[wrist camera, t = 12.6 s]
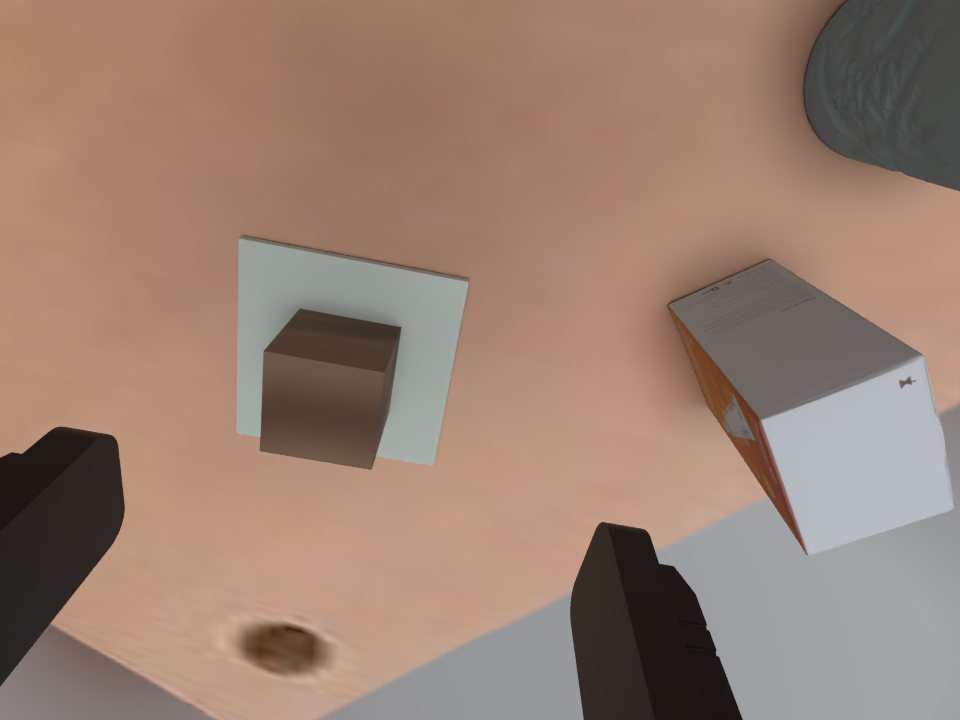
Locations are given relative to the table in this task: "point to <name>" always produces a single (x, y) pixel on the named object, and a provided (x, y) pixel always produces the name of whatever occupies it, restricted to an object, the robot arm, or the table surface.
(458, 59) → the table surface
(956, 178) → the grey cup
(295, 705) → the table surface
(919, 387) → the small box
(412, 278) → the pad
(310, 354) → the cube
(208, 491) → the table surface
